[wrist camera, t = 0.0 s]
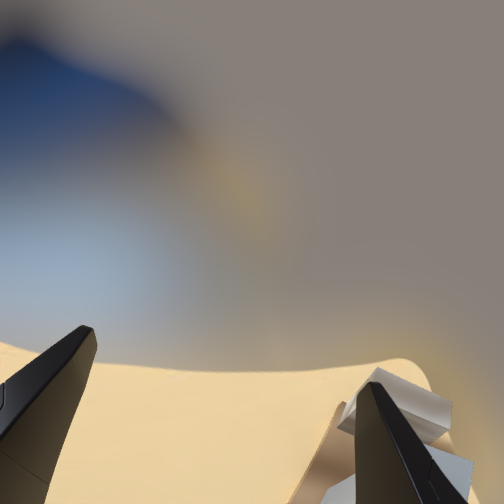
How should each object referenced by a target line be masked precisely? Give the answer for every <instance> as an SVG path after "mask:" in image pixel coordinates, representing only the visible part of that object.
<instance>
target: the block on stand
mask: <svg viewBox="0 0 504 504" xmlns="http://www.w3.org/2000/svg"><path fill="white" fill-rule="evenodd" d="M370 381H373V382H380V383H381V384H382V385H383V387H384V388H385V390H386V391H387V392H388V394H389V395H390V397H391V398H392V399H393V401H394V402H395V404H396V405H397V407H398V408H399V409H400V411H401V412H402V414H403V415H404V417H405V418H406V419H407V421H408V422H409V424H410V425H411V427H412V428H413V429H414V431H415V432H416V434H417V435H418V437H419V438H420V440H421V441H422V443H423V444H426V445H429V444H430V443H432V442H433V441H435V440H436V439H437V438H439V437H440V436H441V435H443V434H444V433H445V432H447V431H448V430H449V429H450V421H451V412H452V401H450V400H448V399H445V398H443V397H441V396H439V395H437V394H434V393H432V392H430V391H428V390H426V389H423V388H421V387H419V386H417V385H415V384H413V383H411V382H408V381H406V380H404V379H402V378H400V377H398V376H396V375H394V374H392V373H389V372H387V371H385V370H383V369H381V368H379V367H377V368H376V369H375V371H374V372H373V373H372V374H371V375H370V377H369V378H368V379H367V380H366V382H365V383H364V384H363V385H362V386H361V388H360V389H359V390H358V391H357V392H356V393H355V395H354V396H353V397H352V398H351V399H350V400H349V401H348V403H345V402H343V401H342V402H341V403H340V404H339V405H338V407H337V409H336V412H335V414H334V416H333V418H332V420H331V422H330V425H329V427H328V429H327V431H326V433H325V435H324V437H323V439H322V441H321V443H320V445H319V447H318V449H317V451H316V453H315V455H314V457H313V459H312V461H311V463H310V465H309V466H308V468H307V470H306V472H305V474H304V476H303V477H302V479H301V481H300V483H299V484H298V486H297V488H296V490H295V491H294V493H293V495H292V497H291V498H290V500H289V502H288V503H287V504H320V503H321V501H322V499H323V497H324V495H325V493H326V492H327V489H329V488H330V487H332V486H334V485H336V484H338V483H340V482H341V481H343V480H345V479H347V478H348V477H350V476H352V475H353V474H355V447H354V432H355V415H356V398H357V395H358V393H359V392H360V391H361V390H362V388H363V387H364V386H365V385H366V384H367V383H368V382H370Z"/></svg>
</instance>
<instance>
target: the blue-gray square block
mask: <svg viewBox="0 0 504 504" xmlns="http://www.w3.org/2000/svg"><path fill="white" fill-rule="evenodd" d="M424 445H425V447H426V448H427V450H428V451H429V453H430V454H431V456H432V459H434V460H435V462H436V463H437V465H438V466H439V467H440V469H441V470H442V472H443V473H444V474H445V476H446V477H447V478H448V480H449V481H450V482H451V483H452V485H453V486H454V487H455V488H456V489H457V491H458V492H459V493H460V494H461V495H462V497H463V498H464V499H465V500H466V501H468V496H469V491H470V485H471V478H472V471H473V461H470V460H468V459H465V458H462V457H459V456H456V455H453V454H450V453H447V452H445V451H442V450H439V449H436V448H434V447H431V446H428V445H426V444H424ZM355 501H356V490H355V474H353V475H352V476H350V477H348V478H347V479H345V480H343V481H341V482H340V483H338V484H336V485H334V486H332V487H330V488H329V489H327V492H326V493H325V495H324V497H323V499H322V501H321V503H320V504H355Z"/></svg>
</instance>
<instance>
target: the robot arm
mask: <svg viewBox="0 0 504 504" xmlns="http://www.w3.org/2000/svg"><path fill="white" fill-rule="evenodd" d="M96 351H97V341H96V337H95V333H94V330H93V328H91V327H88V326H85V325H81V326H79V327H78V328H76V329H75V330H74V331H72V332H71V333H69V334H68V335H67V336H65V337H64V338H62V339H61V340H60V341H58V342H57V343H56V344H54V345H53V346H51V347H50V348H49V349H47V350H46V351H45V352H43V353H42V354H41V355H39V356H38V357H37V358H35V359H34V360H33V361H31V362H30V363H29V364H27V365H26V366H25V367H23V368H22V369H21V370H19V371H18V372H17V373H15V374H14V375H13V376H11V377H10V378H9V379H7V380H6V381H5V383H2V384H1V385H0V504H44V503H45V499H46V496H47V492H48V489H49V485H50V482H51V479H52V476H53V473H54V470H55V467H56V464H57V461H58V458H59V455H60V452H61V449H62V446H63V444H64V441H65V438H66V436H67V433H68V430H69V428H70V425H71V422H72V420H73V417H74V415H75V412H76V410H77V407H78V405H79V402H80V400H81V397H82V395H83V392H84V390H85V387H86V384H87V380H88V377H89V373H90V370H91V367H92V364H93V360H94V357H95V354H96ZM354 447H355V490H356V501H355V504H468V502H467V501H466V500H465V499H464V498H463V497H462V495H461V494H460V493H459V492H458V491H457V489H456V488H455V487H454V486H453V485H452V483H451V482H450V481H449V480H448V478H447V477H446V476H445V474H444V473H443V472H442V470H441V469H440V467H439V466H438V465H437V463H436V462H435V460H434V459H432V456H431V454H430V453H429V451H428V450H427V448H426V447H425V445H424V444H423V443H422V441H421V440H420V438H419V437H418V435H417V434H416V432H415V431H414V429H413V428H412V427H411V425H410V424H409V422H408V421H407V419H406V418H405V417H404V415H403V414H402V412H401V411H400V409H399V408H398V407H397V405H396V404H395V402H394V401H393V399H392V398H391V397H390V395H389V394H388V392H387V391H386V390H385V388H384V387H383V385H382V384H381V383H380V382H373V381H370V382H368V383H367V384H366V385H365V386H364V387H363V388H362V390H361V391H360V392H359V393H358V395H357V398H356V415H355V432H354Z"/></svg>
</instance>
